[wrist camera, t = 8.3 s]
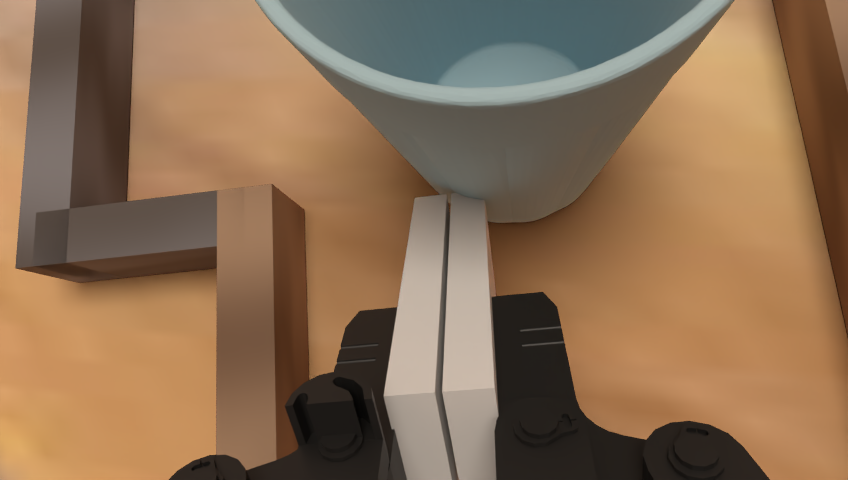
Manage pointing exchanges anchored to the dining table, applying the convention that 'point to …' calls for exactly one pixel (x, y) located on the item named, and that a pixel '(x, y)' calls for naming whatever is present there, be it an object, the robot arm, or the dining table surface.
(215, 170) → the dining table surface
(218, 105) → the dining table surface
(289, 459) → the robot arm
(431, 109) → the cup
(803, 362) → the dining table surface
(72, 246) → the wooden zigzag frame
